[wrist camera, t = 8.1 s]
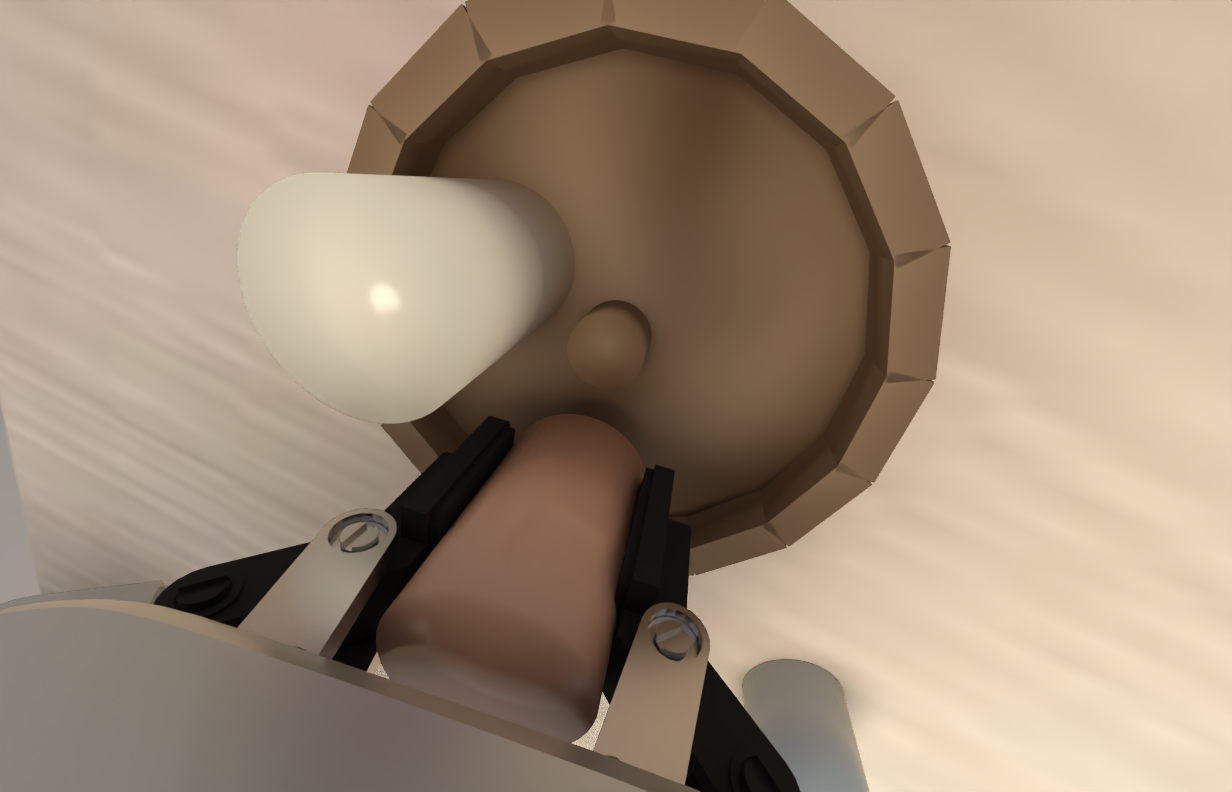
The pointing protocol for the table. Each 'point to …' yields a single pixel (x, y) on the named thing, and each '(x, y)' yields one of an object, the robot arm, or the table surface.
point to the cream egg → (398, 283)
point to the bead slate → (806, 724)
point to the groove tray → (692, 245)
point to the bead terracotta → (525, 583)
